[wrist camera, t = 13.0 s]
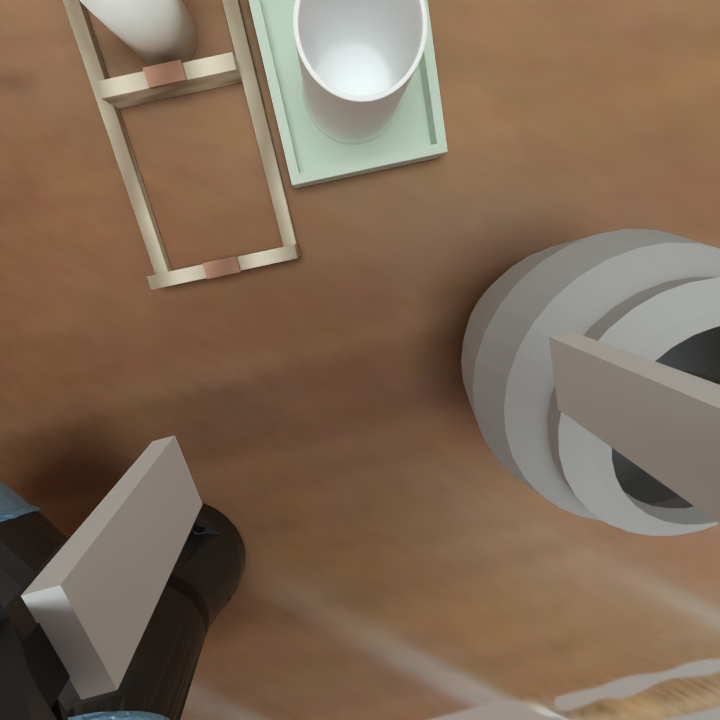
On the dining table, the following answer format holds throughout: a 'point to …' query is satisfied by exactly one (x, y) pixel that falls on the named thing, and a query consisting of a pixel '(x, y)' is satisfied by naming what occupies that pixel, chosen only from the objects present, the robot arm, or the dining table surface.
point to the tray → (315, 149)
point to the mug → (357, 62)
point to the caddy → (173, 83)
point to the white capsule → (150, 27)
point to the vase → (607, 325)
